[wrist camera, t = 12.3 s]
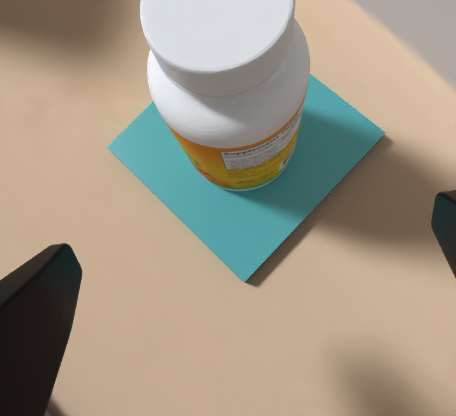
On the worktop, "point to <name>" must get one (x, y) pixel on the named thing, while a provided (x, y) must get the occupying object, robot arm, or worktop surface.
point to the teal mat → (257, 198)
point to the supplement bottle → (229, 84)
